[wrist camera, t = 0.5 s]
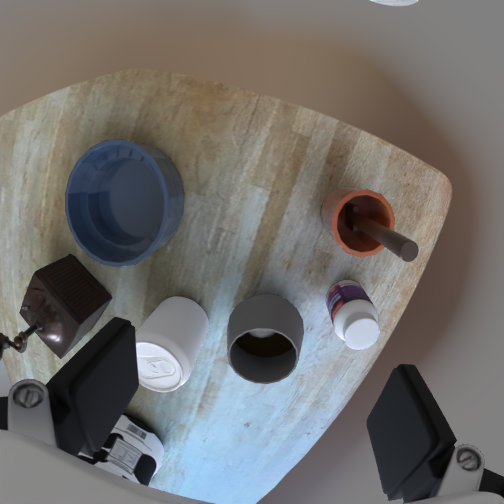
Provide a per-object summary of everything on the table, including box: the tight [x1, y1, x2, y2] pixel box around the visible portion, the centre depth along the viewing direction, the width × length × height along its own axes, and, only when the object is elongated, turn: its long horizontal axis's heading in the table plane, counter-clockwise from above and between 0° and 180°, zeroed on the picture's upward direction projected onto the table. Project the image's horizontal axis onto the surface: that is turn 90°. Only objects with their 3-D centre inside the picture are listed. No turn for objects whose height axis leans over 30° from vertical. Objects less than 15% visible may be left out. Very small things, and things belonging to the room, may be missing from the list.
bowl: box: [65, 139, 184, 267], centre depth 33 cm, size 15×15×6 cm
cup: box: [227, 294, 304, 384], centre depth 34 cm, size 10×9×10 cm
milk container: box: [76, 414, 164, 486], centre depth 41 cm, size 17×17×18 cm
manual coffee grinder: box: [0, 254, 112, 360], centre depth 33 cm, size 16×11×18 cm
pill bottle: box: [326, 280, 380, 350], centre depth 33 cm, size 5×5×10 cm
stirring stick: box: [345, 203, 418, 262], centre depth 25 cm, size 3×1×18 cm, turn 4°
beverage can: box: [135, 297, 209, 392], centre depth 34 cm, size 8×8×12 cm
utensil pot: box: [321, 186, 395, 257], centre depth 31 cm, size 7×7×8 cm
